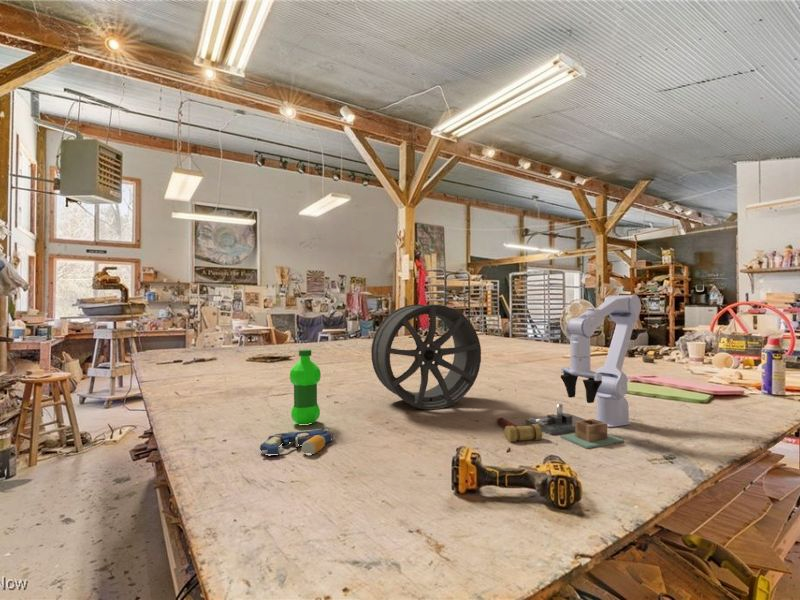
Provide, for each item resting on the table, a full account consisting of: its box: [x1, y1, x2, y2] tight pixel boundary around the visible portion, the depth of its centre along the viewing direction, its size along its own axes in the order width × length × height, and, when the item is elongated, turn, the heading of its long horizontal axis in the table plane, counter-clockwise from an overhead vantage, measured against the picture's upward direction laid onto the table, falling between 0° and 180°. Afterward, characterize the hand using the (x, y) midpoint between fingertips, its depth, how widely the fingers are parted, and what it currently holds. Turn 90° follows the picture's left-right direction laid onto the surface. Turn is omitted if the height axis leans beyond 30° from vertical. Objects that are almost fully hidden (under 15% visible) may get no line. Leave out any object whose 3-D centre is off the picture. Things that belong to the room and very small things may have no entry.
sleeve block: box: [574, 418, 608, 442], centre depth 119 cm, size 7×5×4 cm
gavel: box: [495, 417, 543, 443], centre depth 128 cm, size 21×5×10 cm
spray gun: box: [259, 427, 336, 455], centre depth 115 cm, size 21×4×15 cm
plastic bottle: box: [289, 348, 322, 425], centre depth 138 cm, size 10×10×25 cm
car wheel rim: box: [370, 304, 482, 411], centre depth 163 cm, size 40×20×40 cm, turn 109°
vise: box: [524, 403, 587, 436], centre depth 133 cm, size 18×12×7 cm, turn 111°
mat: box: [560, 432, 625, 450], centre depth 119 cm, size 14×10×1 cm
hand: (580, 399), depth 127 cm, fingers open, 7 cm apart
